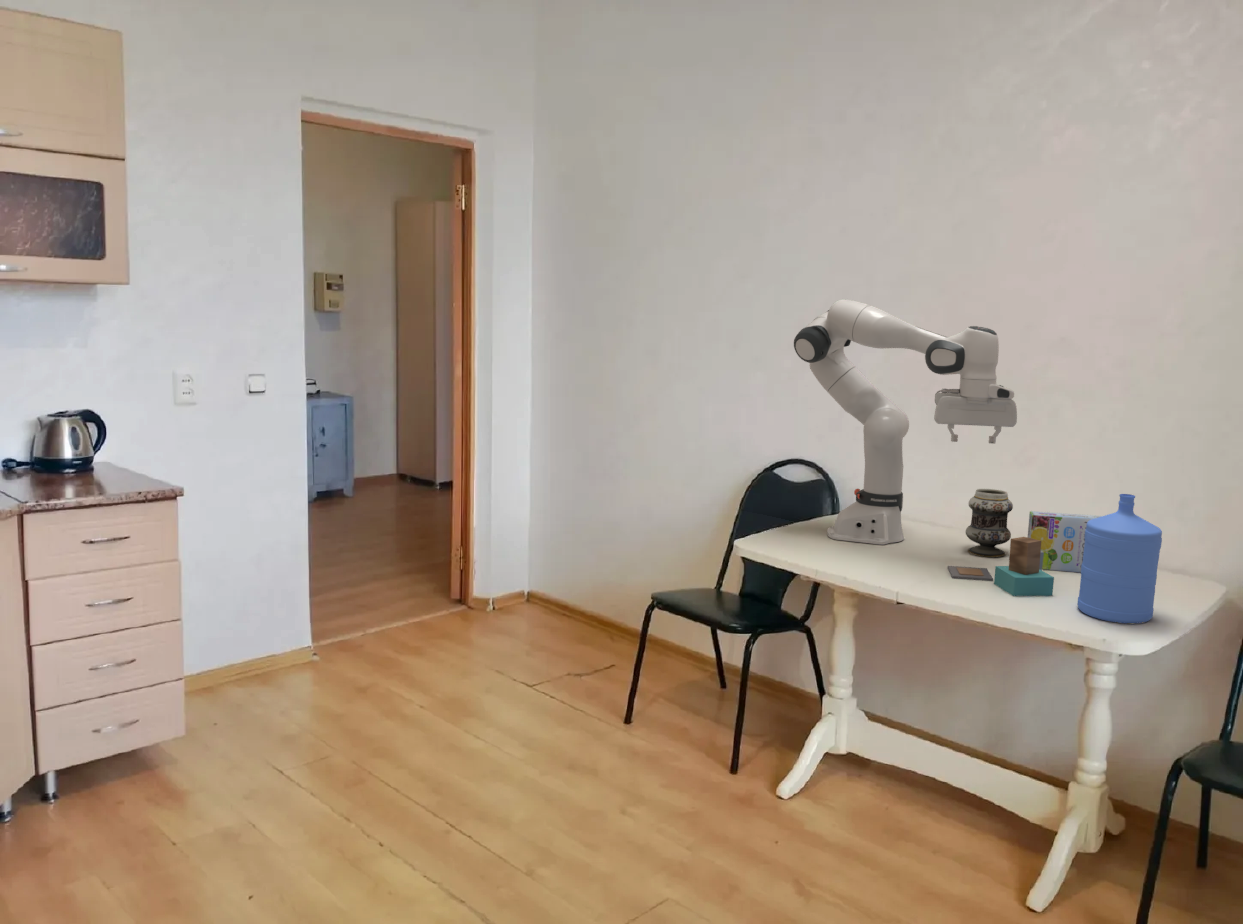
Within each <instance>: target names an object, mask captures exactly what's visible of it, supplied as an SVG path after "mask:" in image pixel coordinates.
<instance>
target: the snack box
mask: <svg viewBox="0 0 1243 924" xmlns="http://www.w3.org/2000/svg"><path fill="white" fill-rule="evenodd" d="M1102 516H1103V515H1093V514H1080V513H1079V514H1078V513H1062V512H1050V511H1049V512H1048V511H1047V512H1046V511H1032V510H1031V511H1029V516H1028V528H1027V537H1028V538H1032V539H1036V540H1040V541H1041V551H1042V552H1044V555H1043V565H1042V570H1044V571H1045V570H1046V571H1047V570H1048V571H1049V570H1050V571H1056V572H1057V571H1059V572H1060V571H1061V572H1070V573H1081V565H1082V562H1083V553H1084V544H1085V539H1084V538H1085V529H1086V525H1087V522H1088V521H1089V520H1092V519H1095V518H1098V517H1102Z"/></svg>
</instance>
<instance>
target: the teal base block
mask: <svg viewBox="0 0 1243 924" xmlns="http://www.w3.org/2000/svg"><path fill="white" fill-rule="evenodd" d="M993 584H994V585H995V586H997V587H998V588H999V589H1001V590H1002V591H1004V592H1006V593H1007V594H1009V595H1011V597H1049V596H1050V597H1051V596H1053V594H1054V592H1053V591H1054V584H1055V577H1054V576H1052V575H1051V574H1050V573H1049V574H1048V573H1047V572H1045V570H1044V571H1043V569H1042V570H1040V569H1039V572H1038V573H1033V574H1028V575H1025V574H1021V573H1017V572H1014V571H1010V570H1009V565H996V566H995V569H994V577H993Z"/></svg>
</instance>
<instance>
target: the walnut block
mask: <svg viewBox="0 0 1243 924" xmlns="http://www.w3.org/2000/svg"><path fill="white" fill-rule="evenodd" d="M1040 553H1041V541H1040V540H1036V539H1032V538H1028V536H1020V537H1014V538H1010V546H1009V559H1008V566H1009V570H1010V571H1014V572H1017V573H1021V574H1025V575H1028V574H1033V573H1038V572H1039V566H1040Z"/></svg>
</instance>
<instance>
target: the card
mask: <svg viewBox="0 0 1243 924" xmlns="http://www.w3.org/2000/svg"><path fill="white" fill-rule="evenodd" d="M947 570H948V571H949V574H950V576H951V578H952V579H956V580H957V579H958V580H969V581H970V580H972V581H985V582H994V577H993V576H992V574H991V573H990V571H989V569H988V568H986V567H976V566H975V567H973V566H961V565H960V566H959V565H947Z"/></svg>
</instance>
